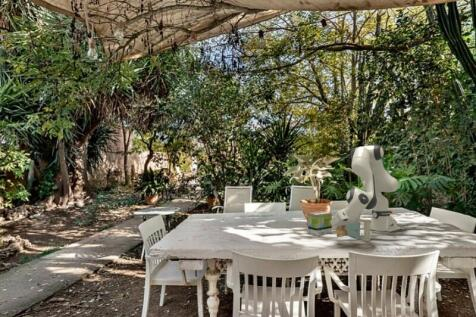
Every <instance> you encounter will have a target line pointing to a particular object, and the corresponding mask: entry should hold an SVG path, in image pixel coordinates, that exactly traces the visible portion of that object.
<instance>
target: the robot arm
mask: <svg viewBox="0 0 476 317" xmlns="http://www.w3.org/2000/svg"><path fill="white" fill-rule="evenodd" d="M384 154H385V153H384V149H383V146H381V145H380V144H374V145H365V146H364V145H363V146H358V147H353V148H352V149H351V150H350V154H349V156H350V159H351V170H352V171H353V173H354V174H355V175H357V176H358V177H359V178H360V179H362V187H363V188H364V190H362V189H360V188H358V187H351V188H349V189H348V190H347V192H346V194H345V199H346V202H347V206H346V207H344V208H343V209H340V210H338V211H336V214H335V215H333V216H332V219H331V221H330V223H331V225H332V228H333V227H334V229H335V230H336V229H338V226H341V225H346V226H347V225H349V224H355V223H357V222H360V221H359V220H361V216H362V213H363V211H365V210H367V211H369V210H371V220H370V221H371V222H370V230H372V231H377V232H390V233H391V232H394V231H398V230H401V227H400V226H398V222H397V220H396V219H395V218H393V217H392V216H391V215H392V214H393V210H389V199H388V198H387V197H386V196H384V195H383V194H382V192H383V193H393V192H396V191H397V190H398V188H399V181H398V179H396V178H395V177H393V176H392V175H391V174H389V172H387V171H386V168H385V166H384V164H383V160H382V159H383V158H384Z"/></svg>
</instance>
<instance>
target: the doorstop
mask: <svg viewBox="0 0 476 317" xmlns="http://www.w3.org/2000/svg"><path fill="white" fill-rule="evenodd" d="M335 233H336V237H337V238H343V237H347V236H348V234H347V229H346V225H341V226H338V229H335ZM348 237H349V236H348Z"/></svg>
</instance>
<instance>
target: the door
mask: <svg viewBox="0 0 476 317" xmlns="http://www.w3.org/2000/svg"><path fill="white" fill-rule="evenodd" d="M346 229H347V234H348V235H349V236H348V237H351V236H352V237H351V238H355V239H358V240H361V239H360V237H361V222H360V221H358V222H357V223H355V224H349V225H347V226H346Z"/></svg>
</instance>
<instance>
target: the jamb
mask: <svg viewBox="0 0 476 317" xmlns="http://www.w3.org/2000/svg"><path fill="white" fill-rule="evenodd" d="M370 226H371V220H370V219H369V220H368V219H367V220H366V219H365V220H363V238H364V239H363V240H364V241H366V242H368V241H371V229H370Z"/></svg>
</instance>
